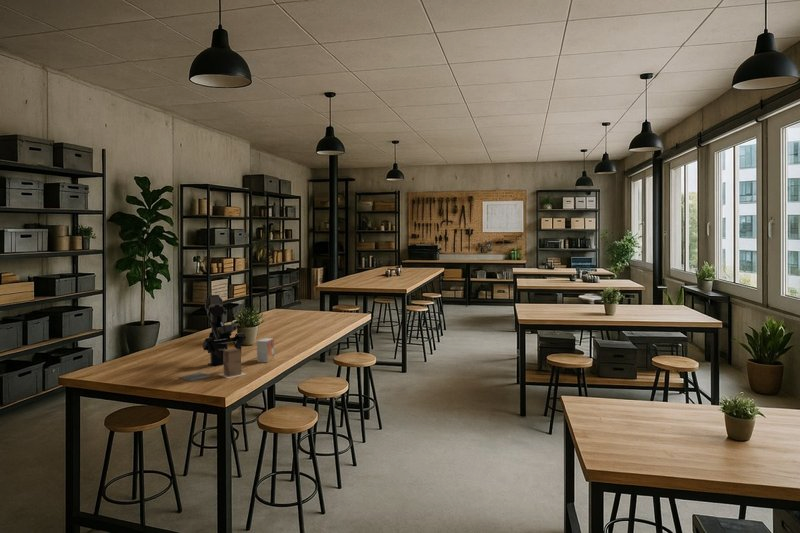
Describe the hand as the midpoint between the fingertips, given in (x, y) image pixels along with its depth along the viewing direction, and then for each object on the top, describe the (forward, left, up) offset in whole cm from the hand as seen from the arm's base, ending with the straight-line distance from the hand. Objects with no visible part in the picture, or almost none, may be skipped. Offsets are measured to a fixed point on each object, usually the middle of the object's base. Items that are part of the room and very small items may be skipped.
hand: (231, 356), depth 231 cm
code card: (+1, 0, -8) cm, 8 cm away
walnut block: (+1, 0, -8) cm, 8 cm away
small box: (-8, +26, -9) cm, 28 cm away
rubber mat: (-9, -12, -8) cm, 17 cm away
